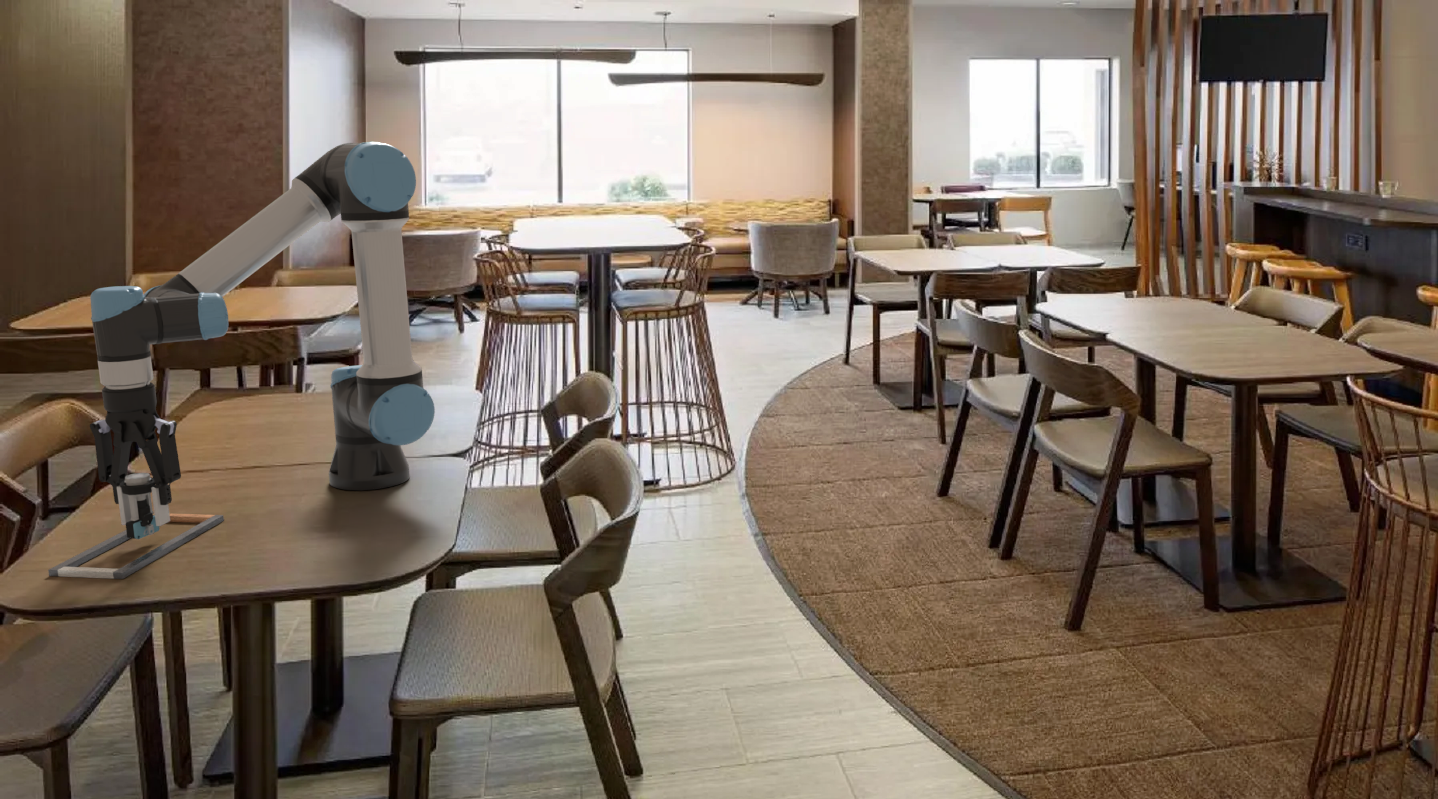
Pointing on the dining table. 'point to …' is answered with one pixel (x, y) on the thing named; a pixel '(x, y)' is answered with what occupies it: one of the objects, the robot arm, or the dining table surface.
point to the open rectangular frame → (71, 569)
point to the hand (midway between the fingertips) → (146, 522)
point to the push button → (139, 505)
